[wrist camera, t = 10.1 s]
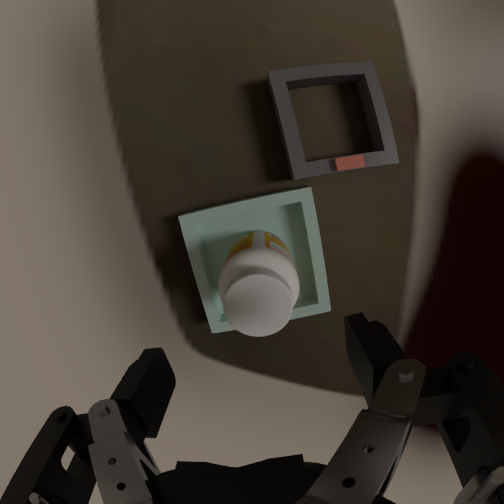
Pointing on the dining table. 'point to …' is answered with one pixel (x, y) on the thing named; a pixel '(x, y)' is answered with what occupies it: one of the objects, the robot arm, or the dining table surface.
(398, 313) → the dining table surface
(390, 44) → the dining table surface
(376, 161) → the socket collar
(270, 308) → the supplement bottle
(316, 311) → the tray
